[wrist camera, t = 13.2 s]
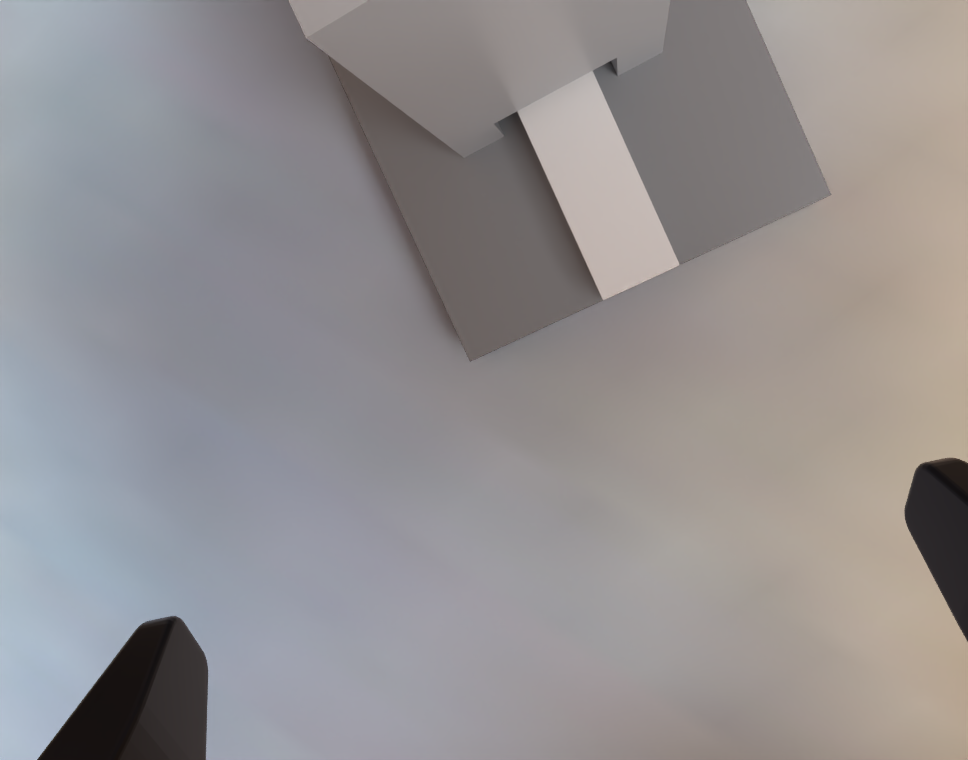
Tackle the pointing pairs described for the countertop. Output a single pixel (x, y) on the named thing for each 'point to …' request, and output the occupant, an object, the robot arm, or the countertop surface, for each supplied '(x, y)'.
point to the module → (479, 52)
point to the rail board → (599, 177)
